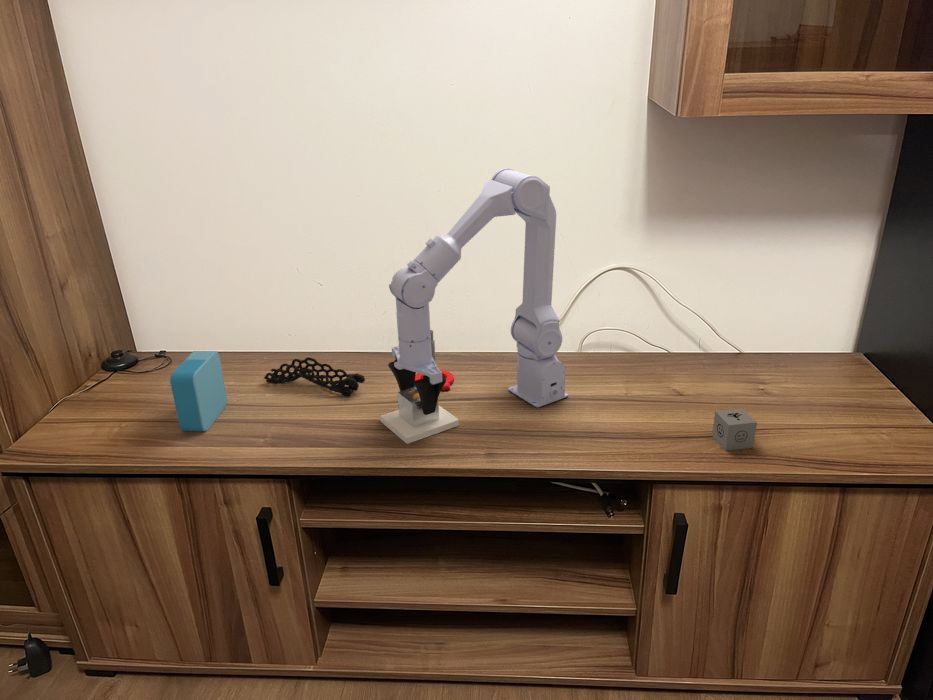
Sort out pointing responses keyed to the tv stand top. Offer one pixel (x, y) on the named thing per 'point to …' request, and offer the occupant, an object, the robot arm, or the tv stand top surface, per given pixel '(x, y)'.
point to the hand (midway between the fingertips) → (418, 404)
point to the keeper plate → (420, 432)
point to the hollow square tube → (414, 409)
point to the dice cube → (734, 429)
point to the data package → (198, 390)
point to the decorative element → (317, 376)
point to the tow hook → (446, 374)
